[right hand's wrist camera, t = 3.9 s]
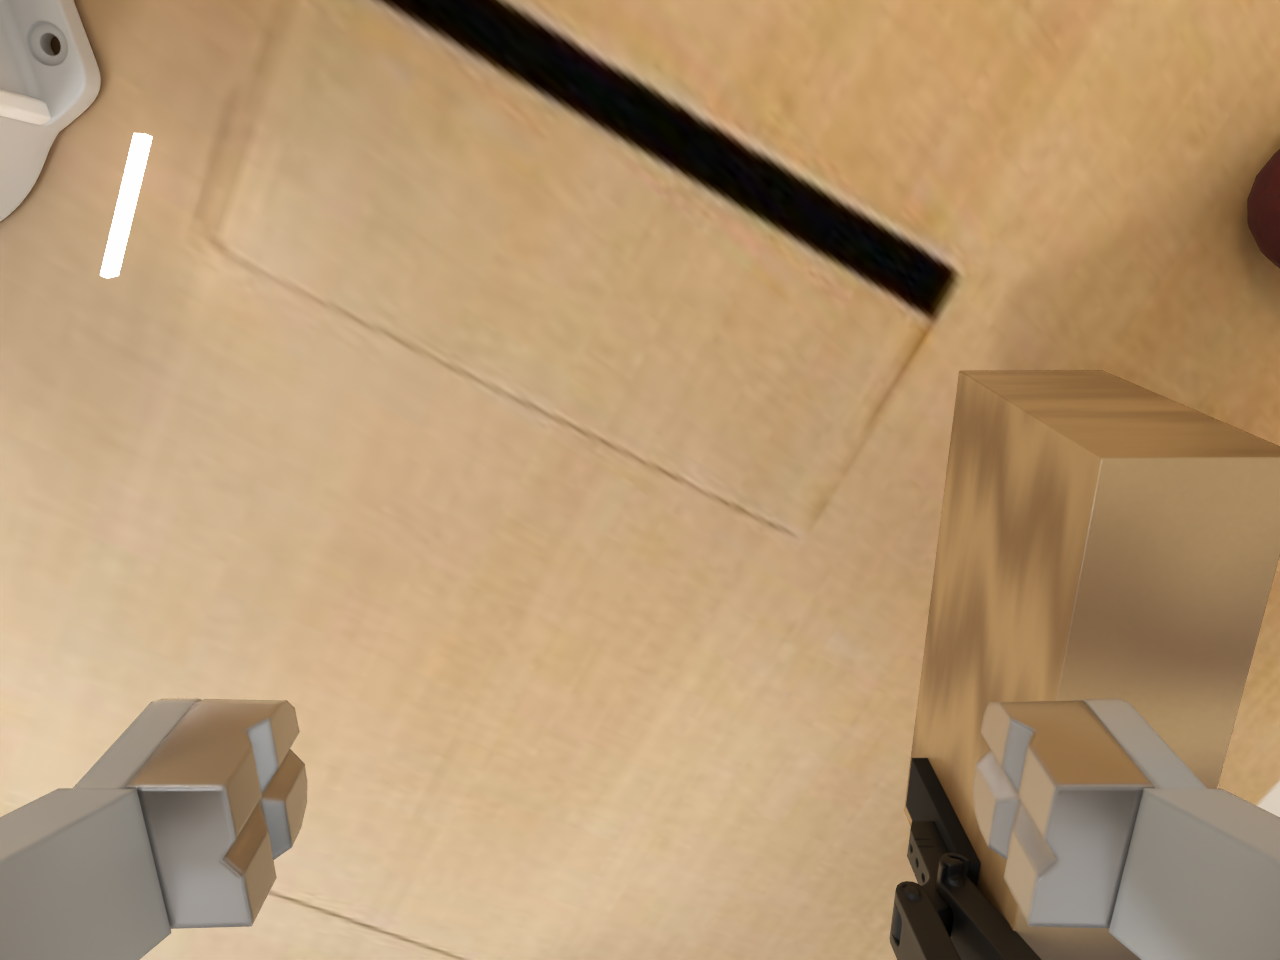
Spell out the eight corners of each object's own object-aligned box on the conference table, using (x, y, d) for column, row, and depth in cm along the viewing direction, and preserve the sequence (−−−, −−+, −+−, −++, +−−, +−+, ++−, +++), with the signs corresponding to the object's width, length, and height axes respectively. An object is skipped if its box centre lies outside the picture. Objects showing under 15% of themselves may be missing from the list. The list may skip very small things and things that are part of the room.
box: (958, 370, 36) (1101, 457, 25) (1102, 370, 36) (1307, 457, 25) (903, 810, 44) (995, 1025, 33) (1023, 810, 44) (1154, 1024, 33)
